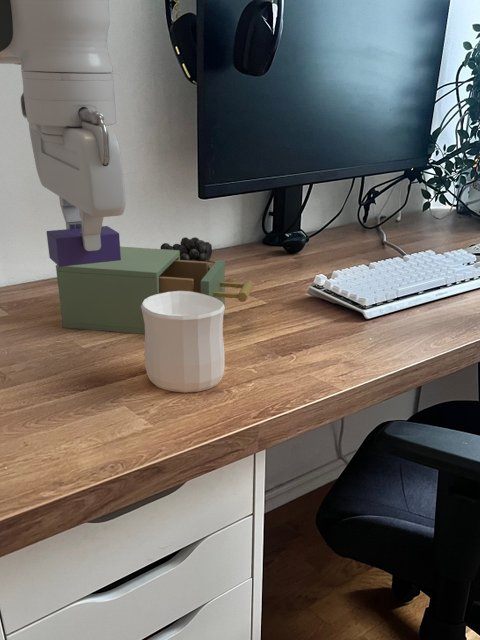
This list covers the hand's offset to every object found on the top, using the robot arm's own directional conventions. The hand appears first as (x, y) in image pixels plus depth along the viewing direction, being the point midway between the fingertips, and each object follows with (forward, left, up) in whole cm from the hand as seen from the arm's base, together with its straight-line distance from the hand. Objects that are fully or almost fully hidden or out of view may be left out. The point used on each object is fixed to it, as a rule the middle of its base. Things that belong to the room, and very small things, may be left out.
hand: (83, 243), depth 76 cm
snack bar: (0, 0, -2) cm, 2 cm away
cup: (+10, +3, -17) cm, 20 cm away
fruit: (-1, +40, -17) cm, 44 cm away
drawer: (+6, +23, -16) cm, 29 cm away
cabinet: (-4, +23, -17) cm, 29 cm away
